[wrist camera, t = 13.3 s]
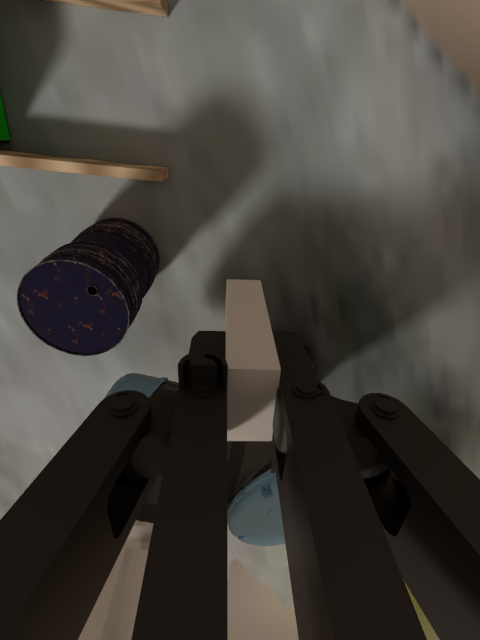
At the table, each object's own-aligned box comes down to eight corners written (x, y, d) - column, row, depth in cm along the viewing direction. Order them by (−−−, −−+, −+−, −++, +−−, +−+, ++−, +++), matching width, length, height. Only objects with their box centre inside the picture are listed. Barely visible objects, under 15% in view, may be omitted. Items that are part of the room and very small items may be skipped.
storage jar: (129, 305, 47) (90, 373, 34) (65, 257, 43) (-6, 312, 30) (176, 255, 43) (153, 310, 30) (111, 198, 40) (53, 233, 27)
